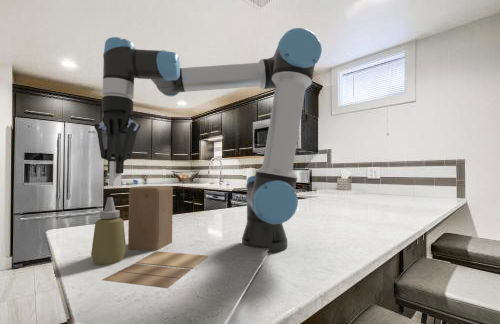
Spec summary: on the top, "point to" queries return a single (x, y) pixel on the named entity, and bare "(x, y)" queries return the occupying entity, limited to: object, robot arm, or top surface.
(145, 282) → the floorboard
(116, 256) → the squeeze bottle
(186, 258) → the plank
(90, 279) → the top surface
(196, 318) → the top surface
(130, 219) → the wooden block
